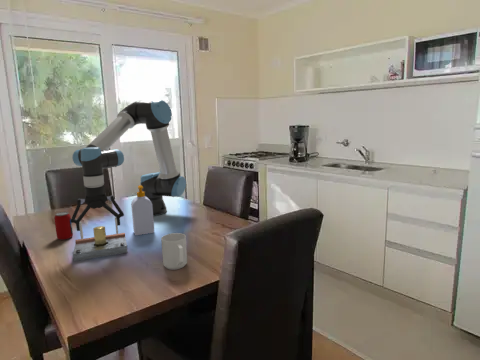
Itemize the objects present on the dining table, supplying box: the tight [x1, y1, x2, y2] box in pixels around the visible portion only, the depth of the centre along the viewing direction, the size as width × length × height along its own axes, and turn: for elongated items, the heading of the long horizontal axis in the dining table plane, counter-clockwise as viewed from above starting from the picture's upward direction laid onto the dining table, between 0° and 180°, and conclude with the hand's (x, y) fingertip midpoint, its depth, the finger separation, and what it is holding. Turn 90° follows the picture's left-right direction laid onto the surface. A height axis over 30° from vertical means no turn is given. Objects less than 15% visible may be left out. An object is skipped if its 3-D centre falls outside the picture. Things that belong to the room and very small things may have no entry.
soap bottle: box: [130, 184, 155, 236], centre depth 159 cm, size 9×7×23 cm
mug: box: [160, 232, 188, 271], centre depth 122 cm, size 12×9×11 cm
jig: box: [72, 232, 129, 262], centre depth 139 cm, size 20×14×4 cm
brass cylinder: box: [92, 225, 107, 247], centre depth 139 cm, size 4×4×10 cm
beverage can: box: [53, 211, 74, 241], centre depth 155 cm, size 7×7×12 cm
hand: (100, 235), depth 138 cm, fingers open, 13 cm apart
